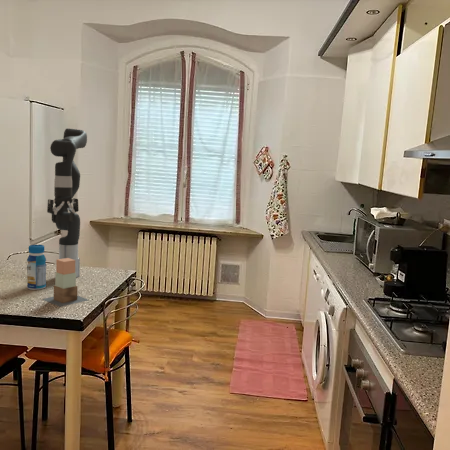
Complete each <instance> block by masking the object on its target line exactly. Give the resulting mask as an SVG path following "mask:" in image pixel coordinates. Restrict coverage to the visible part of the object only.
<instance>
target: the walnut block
mask: <svg viewBox="0 0 450 450" xmlns="http://www.w3.org/2000/svg"><path fill="white" fill-rule="evenodd" d="M77 296H78V285H76V286H75V287H70V288H65V289H63V288H60V287H57V286H55V285H53V297H54V300H56V301H59V302H61V303H66V302H70V301H74V300H77Z"/></svg>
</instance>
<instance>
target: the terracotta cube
mask: <svg viewBox="0 0 450 450" xmlns="http://www.w3.org/2000/svg"><path fill="white" fill-rule="evenodd" d="M55 262H56V265H55V267H56V269H55V270H56V272H57V273H60V274H63V275H65V274H70V273H75V260H73V259H70V258H64V259H59V258H58V259H56V260H55Z"/></svg>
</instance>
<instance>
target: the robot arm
mask: <svg viewBox="0 0 450 450" xmlns="http://www.w3.org/2000/svg"><path fill="white" fill-rule="evenodd" d="M87 142H88V134H87V132H86V131H85V130H83V129H77V128H65V129H64V131H63V138H62V139H61V138H60V139H55V140H53V141H52V142H51V144H50V148H49V149H50V153H51V155H53V156H55V157H61V158H62V161H59V162H56V163H55V164H54V165H55V166H54V170H55V171H54V187H53V188H54V190H53V191H54V193H53V195H54V199H50V198H49V199H47V209H46V212H47V213H48V214H50V215H51V222H52V223H54V224H55V226H56V228H57V229H58V230H61V231H67V235H65V236H62V237H60V238H59V239H58V259H64V258H70V259H73V260H75V273H76V278H78V277H81V276H80V275H81V274H80V271H81V270H80V268H81V267H80V266H81V265H80V264H81V263H80V261H81V260H80V258H79V240H80V235H81V234H80V233H81V231H80V230H81V217H80V216H79V213H78V212H79V211H80V210H79V198H74V197H75V196H76V194H77V192H78V190H79V189H80V184H81V183H80V182H81V173H80V170H79V168H78V167H77V164H76V163H75V161H74V158H75V156H76V155H75V154H76V152H77V150H78V149H83V148H86V146H87ZM76 212H77V213H76Z"/></svg>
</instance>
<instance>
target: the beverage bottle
mask: <svg viewBox="0 0 450 450" xmlns="http://www.w3.org/2000/svg"><path fill="white" fill-rule="evenodd" d="M44 253H45V245H43V244H30V245H28V254H29V255H28V257H27V259H26V263H27V264H26V283H27V284H26V288H27V289H28V290H31V291H39V290H44V289H46V288H47V283H46V282H47V263H46V261H47V258H46V256H45V254H44Z"/></svg>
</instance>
